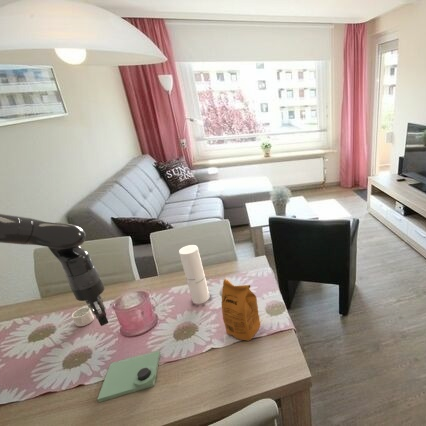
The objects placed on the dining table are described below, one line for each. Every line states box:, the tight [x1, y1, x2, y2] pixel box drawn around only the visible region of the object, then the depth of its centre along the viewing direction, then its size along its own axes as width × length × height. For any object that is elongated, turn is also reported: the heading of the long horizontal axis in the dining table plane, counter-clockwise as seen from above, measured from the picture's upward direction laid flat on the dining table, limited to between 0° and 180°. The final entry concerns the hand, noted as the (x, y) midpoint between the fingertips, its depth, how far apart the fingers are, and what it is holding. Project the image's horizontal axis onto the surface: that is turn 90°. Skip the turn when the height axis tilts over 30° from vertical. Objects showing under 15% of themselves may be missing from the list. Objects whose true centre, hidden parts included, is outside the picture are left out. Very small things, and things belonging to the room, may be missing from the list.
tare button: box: [137, 368, 150, 381], centre depth 91 cm, size 3×3×2 cm
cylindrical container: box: [178, 244, 210, 305], centre depth 123 cm, size 7×7×25 cm
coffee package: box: [221, 278, 261, 342], centre depth 106 cm, size 10×12×22 cm
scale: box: [97, 350, 161, 403], centre depth 94 cm, size 16×14×3 cm
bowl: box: [71, 306, 95, 327], centre depth 116 cm, size 6×6×5 cm
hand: (104, 323), depth 98 cm, fingers closed
